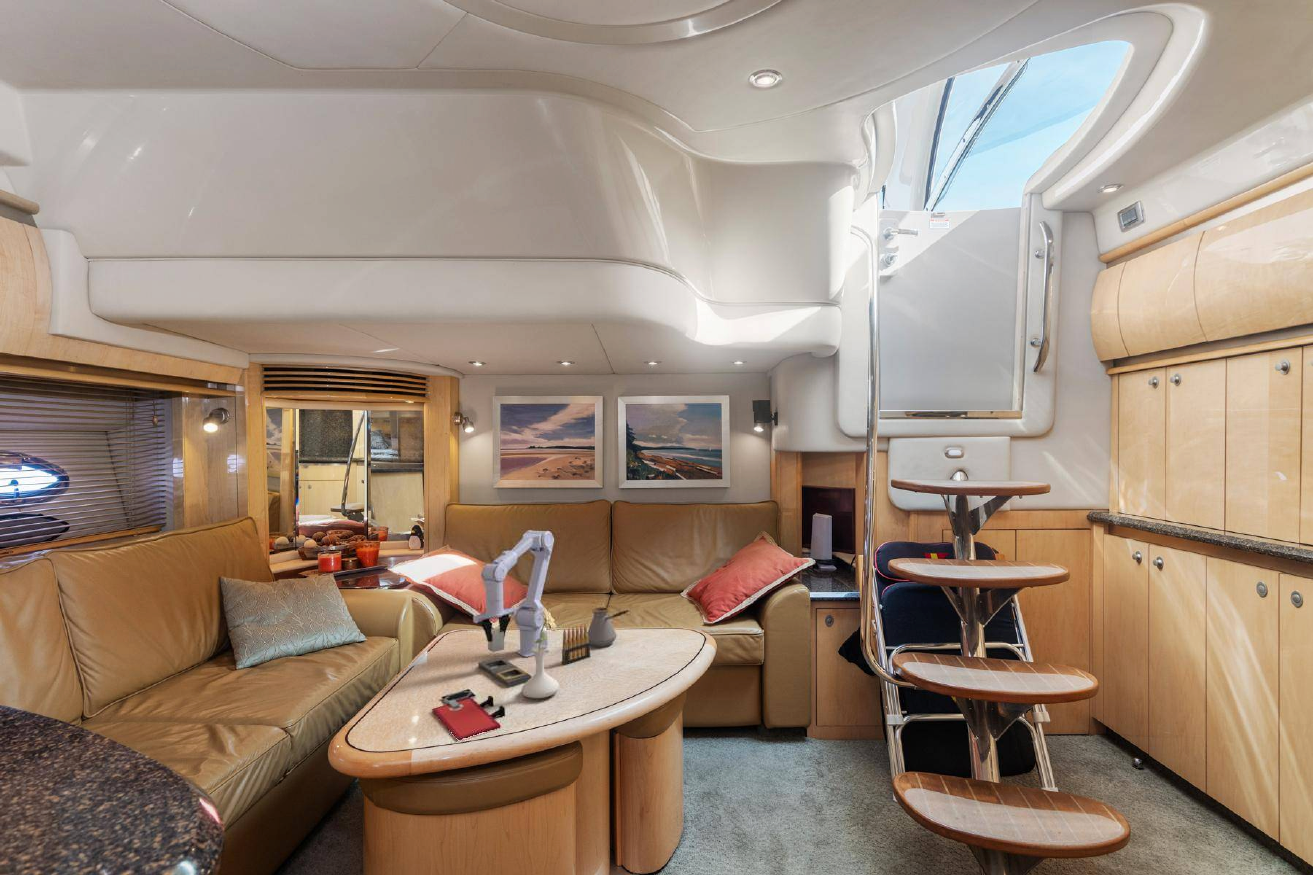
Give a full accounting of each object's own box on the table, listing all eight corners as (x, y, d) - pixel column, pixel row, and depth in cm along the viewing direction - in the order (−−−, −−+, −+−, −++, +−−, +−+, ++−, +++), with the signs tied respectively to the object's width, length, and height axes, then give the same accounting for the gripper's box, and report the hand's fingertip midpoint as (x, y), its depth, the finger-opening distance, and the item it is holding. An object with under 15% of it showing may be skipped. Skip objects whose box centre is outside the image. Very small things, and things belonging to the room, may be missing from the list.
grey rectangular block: (499, 646, 206) (498, 629, 206) (504, 649, 203) (503, 631, 203) (488, 649, 204) (487, 631, 204) (492, 652, 201) (492, 634, 201)
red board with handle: (474, 690, 186) (424, 704, 177) (474, 681, 186) (424, 695, 177) (514, 725, 162) (458, 744, 153) (513, 715, 162) (458, 733, 153)
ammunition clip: (587, 655, 213) (586, 622, 213) (590, 657, 212) (589, 623, 212) (561, 664, 206) (560, 629, 206) (565, 665, 204) (563, 630, 205)
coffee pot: (579, 644, 225) (578, 604, 226) (602, 636, 234) (601, 598, 234) (619, 656, 211) (617, 614, 211) (641, 648, 219) (640, 606, 220)
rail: (500, 661, 210) (500, 656, 211) (531, 680, 192) (531, 675, 192) (478, 667, 206) (478, 662, 206) (508, 687, 187) (508, 682, 187)
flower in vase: (547, 704, 174) (544, 617, 174) (513, 699, 178) (511, 615, 178) (569, 686, 186) (566, 605, 186) (537, 682, 190) (534, 603, 190)
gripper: (478, 605, 196) (479, 647, 196) (519, 597, 205) (520, 637, 205) (470, 601, 202) (471, 642, 201) (510, 594, 211) (511, 632, 210)
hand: (495, 639), depth 203 cm, fingers closed on grey rectangular block, 4 cm apart
